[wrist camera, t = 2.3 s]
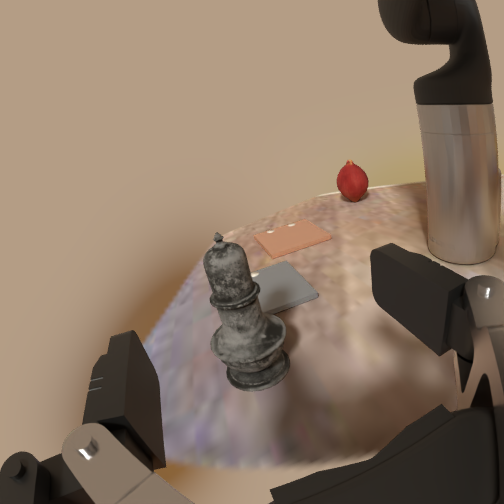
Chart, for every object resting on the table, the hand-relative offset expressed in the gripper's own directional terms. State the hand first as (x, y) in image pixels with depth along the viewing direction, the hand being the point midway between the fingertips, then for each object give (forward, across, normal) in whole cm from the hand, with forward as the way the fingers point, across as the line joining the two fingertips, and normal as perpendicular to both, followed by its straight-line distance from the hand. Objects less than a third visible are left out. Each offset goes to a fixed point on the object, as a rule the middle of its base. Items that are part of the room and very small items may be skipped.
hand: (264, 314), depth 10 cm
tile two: (+34, -12, +12) cm, 39 cm away
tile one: (+22, -4, +12) cm, 26 cm away
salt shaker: (+12, 0, +13) cm, 17 cm away
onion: (+42, -28, +12) cm, 52 cm away
